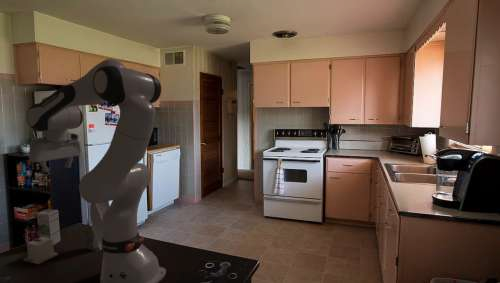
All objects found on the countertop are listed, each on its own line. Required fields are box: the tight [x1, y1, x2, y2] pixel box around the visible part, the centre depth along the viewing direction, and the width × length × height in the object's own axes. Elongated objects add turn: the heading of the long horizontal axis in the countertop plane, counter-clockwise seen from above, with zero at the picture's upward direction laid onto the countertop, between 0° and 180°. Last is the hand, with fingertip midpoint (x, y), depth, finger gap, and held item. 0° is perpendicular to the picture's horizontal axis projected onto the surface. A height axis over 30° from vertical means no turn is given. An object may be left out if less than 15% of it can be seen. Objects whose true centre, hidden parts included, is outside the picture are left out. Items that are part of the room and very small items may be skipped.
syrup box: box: [36, 209, 61, 246], centre depth 128 cm, size 6×6×14 cm
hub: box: [23, 251, 59, 265], centre depth 116 cm, size 8×8×5 cm
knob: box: [26, 237, 55, 261], centre depth 116 cm, size 6×6×7 cm
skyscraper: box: [86, 201, 111, 252], centre depth 125 cm, size 8×8×28 cm
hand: (57, 169), depth 123 cm, fingers open, 8 cm apart
